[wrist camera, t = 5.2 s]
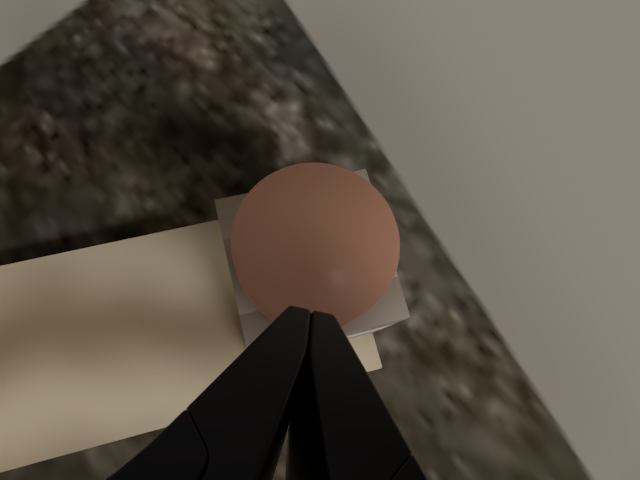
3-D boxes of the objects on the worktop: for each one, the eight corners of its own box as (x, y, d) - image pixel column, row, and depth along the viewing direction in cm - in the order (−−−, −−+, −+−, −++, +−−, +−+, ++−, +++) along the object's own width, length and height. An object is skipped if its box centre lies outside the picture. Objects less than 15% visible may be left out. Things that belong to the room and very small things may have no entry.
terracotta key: (391, 317, 16) (421, 302, 13) (255, 352, 16) (251, 346, 12) (354, 190, 18) (373, 148, 14) (225, 218, 17) (214, 180, 14)
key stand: (377, 368, 22) (429, 364, 15) (-189, 522, 18) (-483, 617, 11) (331, 202, 24) (358, 127, 17) (-191, 314, 20) (-444, 280, 13)
